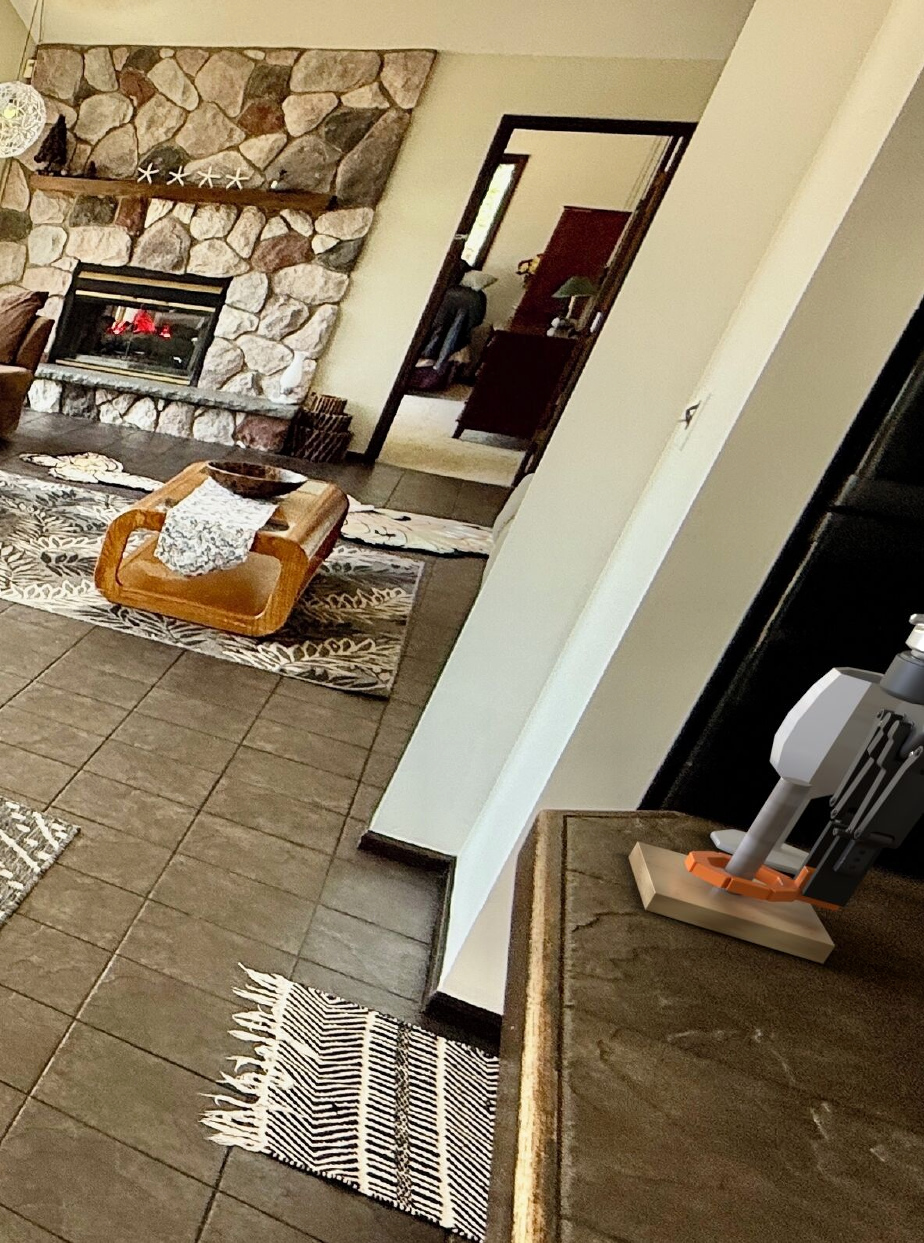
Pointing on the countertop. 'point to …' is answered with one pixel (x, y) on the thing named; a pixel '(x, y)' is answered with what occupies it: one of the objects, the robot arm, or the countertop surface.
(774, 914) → the board
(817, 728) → the wineglass
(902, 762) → the robot arm
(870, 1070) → the countertop surface
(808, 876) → the ring
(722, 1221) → the countertop surface
